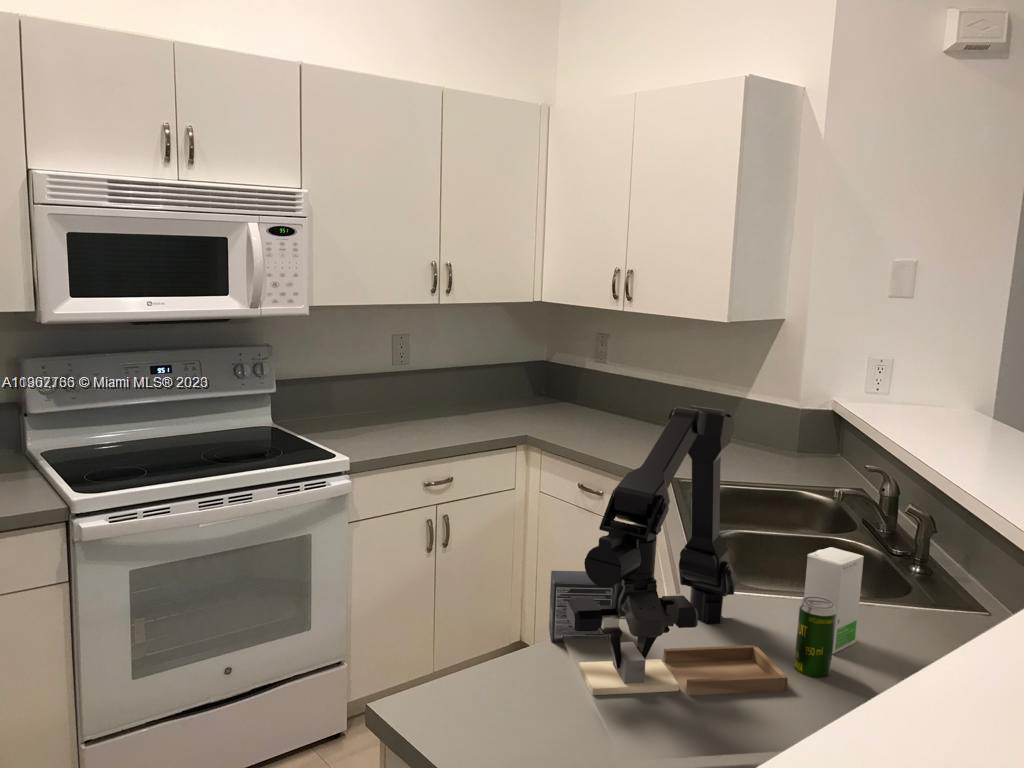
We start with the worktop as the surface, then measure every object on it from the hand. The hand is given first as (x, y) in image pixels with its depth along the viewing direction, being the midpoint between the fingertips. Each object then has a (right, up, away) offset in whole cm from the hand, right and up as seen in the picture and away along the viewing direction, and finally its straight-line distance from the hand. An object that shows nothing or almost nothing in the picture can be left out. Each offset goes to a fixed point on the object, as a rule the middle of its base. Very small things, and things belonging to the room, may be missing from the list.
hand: (628, 666), depth 126 cm
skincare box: (+37, -2, +19) cm, 41 cm away
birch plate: (0, -2, 0) cm, 2 cm away
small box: (-6, -1, +17) cm, 18 cm away
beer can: (+30, -4, +6) cm, 30 cm away
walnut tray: (+15, -3, +3) cm, 15 cm away
